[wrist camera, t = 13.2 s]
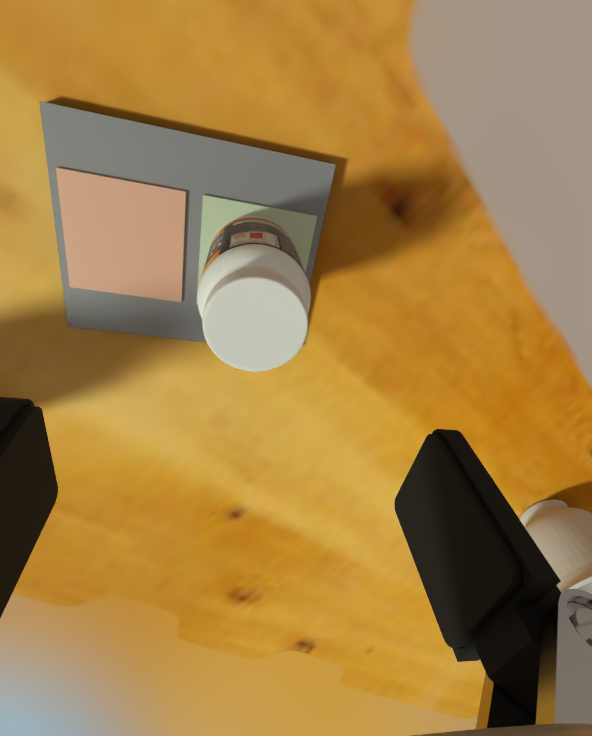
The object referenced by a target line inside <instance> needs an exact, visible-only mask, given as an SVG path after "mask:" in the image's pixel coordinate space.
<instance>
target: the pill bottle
mask: <svg viewBox="0 0 592 736" xmlns="http://www.w3.org/2000/svg"><path fill="white" fill-rule="evenodd" d="M310 302H311V291H310V285H309V281H308V278H307V276H306V273H305V271H304V268H303V266H302V263H301V261H300V258H299V255H298V252H297V249H296V247H295V245H294V243H293V241H292V239H291V238H290V236H289V235H288V233H287V232H286V231H285V230H284V229H283V228H282V227H281V226H279V225H278V224H277V223H275V222H273V221H271V220H269V219H266V218H263V217H258V216H246V217H241V218H238V219H235V220H233V221H231V222H229V223H228V224H226V225H225V226H224V227H223V228H222V229H221V230H220V231H219V232H218V233H217V234H216V236H215V237H214V239H213V241H212V243H211V246H210V249H209V252H208V256H207V259H206V263H205V266H204V269H203V273H202V276H201V279H200V283H199V286H198V293H197V303H198V309H199V312H200V315H201V318H202V325H203V333H204V336H205V339H206V341H207V344H208V345H209V347H210V348H211V350H212V351H213V353H214V354H215V355H216V356H217V357H218V358H219V359H221V360H222V361H224V362H225V363H227V364H228V365H230V366H232V367H235V368H238V369H241V370H246V371H266V370H270V369H274V368H276V367H279V366H281V365H283V364H285V363H286V362H288V361H289V360H291V359H292V358H293V357H294V356H295V355H296V354H297V353H298V351H299V350H300V349H301V347H302V345H303V343H304V341H305V339H306V336H307V332H308V312H309V309H310Z"/></svg>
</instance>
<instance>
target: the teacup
mask: <svg viewBox="0 0 592 736" xmlns="http://www.w3.org/2000/svg"><path fill="white" fill-rule="evenodd" d="M519 520H520V521H521V522H522V524H523V525H524V527H525V528H526V530H527V531H528V533H529V534H530V536H531V537H532V539H533V540H534V542H535V543H536V545H537V546H538V548H539V549H540V551H541V552H542V554H543V555H544V557H545V558H546V560H547V561H548V563H549V564H550V566H551V567H552V569H553V570H554V572H555V573H556V574H557V576H558V577H559V579H560V580H561V582H560V583H558V584H557V587H558V588H559V590H560V591H561V593H562V592H564V591H565V590H566V589H574V588H575V589H579V590H583V591H586V592H588V593H590V594H592V513H590V512H588V511H586V510H583V509H580V508H572V507H568V505H567V504H566V503H565V502H564V501H562V500H558V499H550V500H545V501H541V502H538V503H536V504H534V505H532V506H531V507H529V508H528V509H527V510H526V511H525V512H524V513H523V514H522V515H521V517H520V519H519Z"/></svg>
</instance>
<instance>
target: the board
mask: <svg viewBox="0 0 592 736" xmlns="http://www.w3.org/2000/svg"><path fill="white" fill-rule="evenodd" d="M40 109H41V117H42V125H43V133H44V141H45V149H46V157H47V165H48V173H49V181H50V189H51V197H52V205H53V213H54V220H55V228H56V236H57V244H58V252H59V260H60V268H61V276H62V284H63V292H64V300H65V308H66V316H67V324H68V326H70V327H79V328H87V329H96V330H104V331H113V332H121V333H130V334H138V335H147V336H155V337H164V338H172V339H181V340H189V341H198V342H206V343H207V341H206V339H205V336H204V333H203V325H202V318H201V315H200V312H199V309H198V303H197V293H198V286H199V283H200V279H201V276H202V273H203V269H204V266H205V263H206V259H207V256H208V252H209V249H210V246H211V243H212V241H213V239H214V237H215V236H216V234H217V233H218V232H219V231H220V230H221V229H222V228H223V227H224V226H225V225H226V224H228V223H229V222H231V221H233V220H235V219H238V218H241V217H246V216H258V217H263V218H266V219H269V220H271V221H273V222H275V223H277V224H278V225H279V226H281V227H282V228H283V229H284V230H285V231H286V232H287V233H288V235H289V236H290V238H291V239H292V241H293V243H294V245H295V247H296V249H297V252H298V255H299V258H300V261H301V263H302V266H303V268H304V271H305V273H306V276H307V278H308V281H309V285H310V281H311V277H312V272H313V267H314V263H315V258H316V254H317V249H318V244H319V240H320V235H321V231H322V226H323V222H324V217H325V212H326V208H327V203H328V199H329V194H330V189H331V185H332V180H333V176H334V171H335V166H336V165H335V164H333V163H329V162H324V161H319V160H315V159H310V158H305V157H301V156H296V155H291V154H287V153H282V152H277V151H273V150H268V149H263V148H259V147H254V146H249V145H245V144H240V143H235V142H231V141H226V140H221V139H217V138H212V137H207V136H203V135H198V134H193V133H189V132H184V131H179V130H175V129H170V128H165V127H161V126H156V125H151V124H147V123H142V122H137V121H133V120H128V119H123V118H119V117H114V116H109V115H105V114H100V113H95V112H91V111H86V110H81V109H77V108H72V107H67V106H63V105H58V104H53V103H49V102H42V101H40Z"/></svg>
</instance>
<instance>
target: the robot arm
mask: <svg viewBox="0 0 592 736" xmlns="http://www.w3.org/2000/svg"><path fill="white" fill-rule="evenodd" d="M57 493H58V486H57V481H56V476H55V471H54V466H53V461H52V456H51V451H50V447H49V442H48V437H47V432H46V427H45V422H44V417H43V412H42V409H41V408H40V407H37V406H34V404H33V402H32V401H31V400H29V399H19V398H5V397H0V617H1V615H2V613H3V611H4V609H5V607H6V605H7V603H8V601H9V598H10V596H11V594H12V592H13V590H14V588H15V586H16V584H17V582H18V580H19V578H20V575H21V573H22V571H23V569H24V567H25V565H26V563H27V561H28V559H29V557H30V554H31V552H32V550H33V548H34V546H35V544H36V542H37V540H38V538H39V536H40V533H41V531H42V529H43V527H44V525H45V523H46V521H47V519H48V517H49V514H50V512H51V510H52V508H53V506H54V504H55V501H56V498H57ZM395 511H396V514H397V517H398V519H399V522H400V525H401V527H402V530H403V532H404V535H405V538H406V540H407V543H408V546H409V548H410V551H411V554H412V556H413V559H414V561H415V564H416V567H417V569H418V572H419V575H420V577H421V580H422V583H423V585H424V588H425V590H426V593H427V596H428V598H429V601H430V604H431V606H432V609H433V612H434V614H435V617H436V620H437V622H438V625H439V627H440V630H441V633H442V635H443V638H444V640H445V642H446V643H447V645H448V646H450V647H452V648H453V651H454V653H455V656H456V658H457V661H458V662H461V661H477V660H479V659H480V660H481V662H482V664H483V667H484V669H485V671H486V673H485V679H484V685H483V690H482V696H481V702H480V707H479V713H478V719H477V725H476V729H475V730H465V731H454V732H445V733H433V734H424V735H413V736H592V594H590V593H588V592H586V591H583V590H579V589H575V588H574V589H566V590H565V591H564V592H562V593H561V591H560V590H559V588H558V587H557V584H558V583H560V582H561V580H560V579H559V577H558V576H557V574H556V573H555V572H554V570H553V569H552V567H551V566H550V564H549V563H548V561H547V560H546V558H545V557H544V555H543V554H542V552H541V551H540V549H539V548H538V546H537V545H536V543H535V542H534V540H533V539H532V537H531V536H530V534H529V533H528V531H527V530H526V528H525V527H524V525H523V524H522V522H521V521H520V520H519V518H518V517H517V515H516V514H515V512H514V511H513V509H512V508H511V506H510V505H509V503H508V502H507V500H506V499H505V497H504V496H503V494H502V493H501V491H500V490H499V488H498V487H497V485H496V484H495V482H494V481H493V479H492V478H491V476H490V475H489V473H488V472H487V471H486V469H485V468H484V466H483V465H482V463H481V462H480V460H479V459H478V457H477V456H476V454H475V453H474V451H473V450H472V448H471V447H470V445H469V444H468V442H467V441H466V439H465V438H464V436H463V435H462V434H461V433H460V432H459V431H457V430H444V429H436V430H434V431H433V433H432V434H429V435H428V436H427V437H426V439H425V441H424V443H423V445H422V447H421V449H420V451H419V453H418V455H417V457H416V459H415V461H414V463H413V465H412V466H411V468H410V470H409V472H408V474H407V476H406V478H405V480H404V482H403V484H402V486H401V488H400V490H399V492H398V494H397V496H396V498H395Z"/></svg>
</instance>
